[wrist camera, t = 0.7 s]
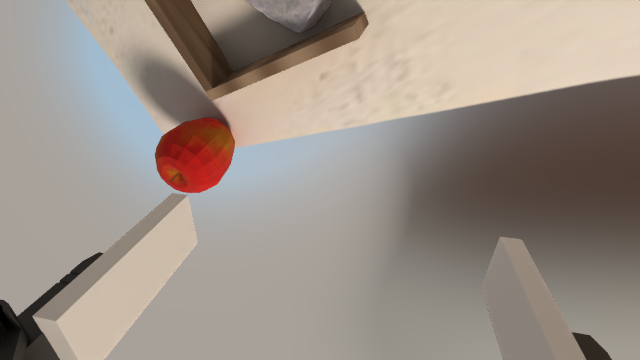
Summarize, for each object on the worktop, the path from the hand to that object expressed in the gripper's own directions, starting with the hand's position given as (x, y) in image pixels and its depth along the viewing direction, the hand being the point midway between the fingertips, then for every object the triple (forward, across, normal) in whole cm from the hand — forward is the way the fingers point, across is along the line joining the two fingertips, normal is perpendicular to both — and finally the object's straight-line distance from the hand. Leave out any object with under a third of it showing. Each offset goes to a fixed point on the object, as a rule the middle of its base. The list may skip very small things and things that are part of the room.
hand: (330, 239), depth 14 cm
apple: (+31, -22, -9) cm, 39 cm away
